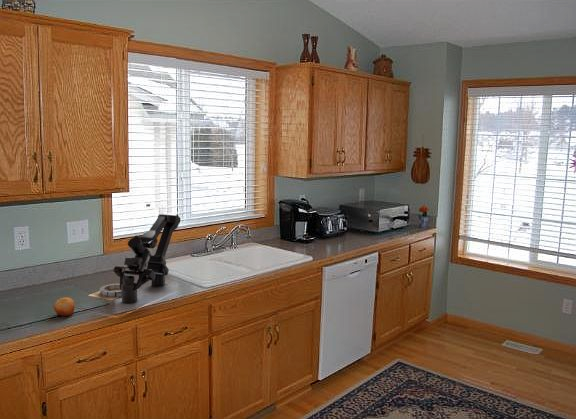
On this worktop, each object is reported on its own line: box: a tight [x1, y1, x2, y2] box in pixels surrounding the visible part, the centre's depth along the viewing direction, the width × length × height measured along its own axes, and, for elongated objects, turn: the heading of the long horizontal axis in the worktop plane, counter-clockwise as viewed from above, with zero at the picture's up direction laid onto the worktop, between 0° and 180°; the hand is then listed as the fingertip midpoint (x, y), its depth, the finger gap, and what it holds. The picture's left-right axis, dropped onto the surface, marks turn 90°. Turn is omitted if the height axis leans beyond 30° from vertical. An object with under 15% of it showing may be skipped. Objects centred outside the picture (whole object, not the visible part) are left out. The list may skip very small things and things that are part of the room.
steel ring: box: [99, 283, 122, 298], centre depth 238 cm, size 14×14×2 cm
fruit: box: [52, 296, 76, 317], centre depth 211 cm, size 8×8×8 cm
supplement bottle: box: [121, 275, 139, 305], centre depth 227 cm, size 7×7×12 cm
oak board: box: [87, 288, 139, 301], centre depth 239 cm, size 18×14×1 cm
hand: (127, 289), depth 225 cm, fingers closed on supplement bottle, 7 cm apart
